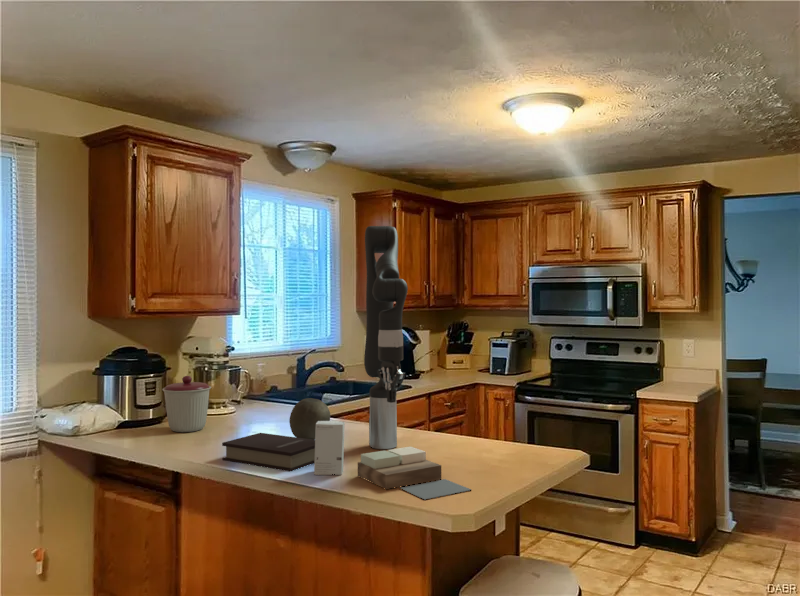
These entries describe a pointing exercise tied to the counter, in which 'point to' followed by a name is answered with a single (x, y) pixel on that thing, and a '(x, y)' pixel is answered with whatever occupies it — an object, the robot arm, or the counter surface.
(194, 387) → the canister
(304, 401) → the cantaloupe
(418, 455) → the cream tile
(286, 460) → the book
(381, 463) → the sage tile
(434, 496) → the grey mat
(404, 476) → the walnut board
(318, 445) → the skincare box
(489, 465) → the counter surface
